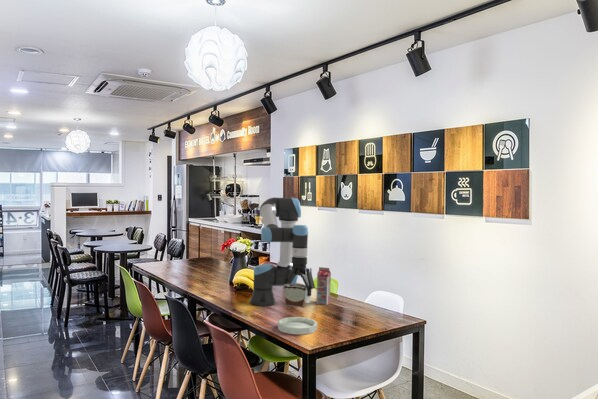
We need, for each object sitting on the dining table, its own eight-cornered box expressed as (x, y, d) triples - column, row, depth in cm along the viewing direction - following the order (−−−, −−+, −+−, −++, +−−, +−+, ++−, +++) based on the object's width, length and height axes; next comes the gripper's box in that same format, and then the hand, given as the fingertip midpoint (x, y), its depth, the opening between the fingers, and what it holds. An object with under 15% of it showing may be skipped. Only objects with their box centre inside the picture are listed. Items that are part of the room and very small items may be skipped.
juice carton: (319, 301, 271) (320, 266, 270) (329, 302, 268) (331, 267, 268) (316, 303, 264) (317, 267, 264) (326, 304, 262) (327, 268, 262)
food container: (309, 304, 214) (310, 284, 214) (306, 307, 209) (307, 287, 208) (286, 302, 218) (287, 282, 218) (282, 304, 212) (283, 284, 212)
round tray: (270, 328, 212) (270, 322, 212) (295, 320, 226) (295, 315, 226) (299, 337, 199) (299, 330, 199) (324, 328, 214) (324, 322, 214)
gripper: (277, 254, 217) (275, 297, 217) (313, 259, 202) (312, 306, 202) (286, 253, 223) (285, 295, 223) (323, 258, 208) (321, 303, 208)
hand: (298, 300), depth 212 cm, fingers closed on food container, 11 cm apart
